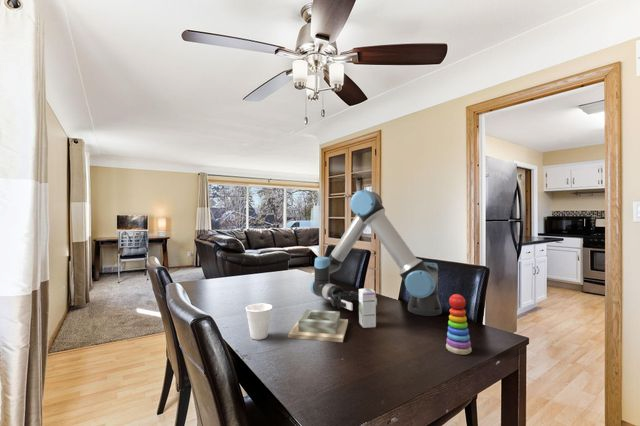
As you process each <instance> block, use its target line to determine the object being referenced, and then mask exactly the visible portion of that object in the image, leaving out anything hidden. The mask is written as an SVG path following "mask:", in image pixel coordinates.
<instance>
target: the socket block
mask: <svg viewBox="0 0 640 426" xmlns="http://www.w3.org/2000/svg"><path fill="white" fill-rule="evenodd" d="M348 324H349V319H347V318H341V311H335V310H319V309H306V310H305V311H304V313H303V314H302V315H301V316H300V318H299V319H298V320H297V322H296V323H295V324H294V326H293V327H292V328H291V330H290V331H289V333H288V335H287V337H288V339H295V340H296V339H297V340H309V341H310V340H311V341H320V342H321V341H322V342H333V343H334V342H335V343H343V342H344V339H345V335H346V333H347V332H346V331H347V329H348Z"/></svg>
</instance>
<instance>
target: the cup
mask: <svg viewBox="0 0 640 426" xmlns="http://www.w3.org/2000/svg"><path fill="white" fill-rule="evenodd" d="M245 310H246V317H247V323H248V330H249V336H250V338H251V339H252V340H255V341H258V340H259V341H260V340H264V339H267V337H268V335H269V334H268V333H269V327H270V322H271V316H272V310H273V305H272V304H268V303H253V304H249V305H247V306H245Z"/></svg>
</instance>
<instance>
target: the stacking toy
mask: <svg viewBox="0 0 640 426" xmlns="http://www.w3.org/2000/svg"><path fill="white" fill-rule="evenodd" d="M448 302H449V305H450V307H451V308H449V313H450V314H449V315H448V319H449V320H448V322H447V324H448V326H447V333H446V336H447V337H446V344H445V348H446V349H447V350H448V351H449V352H450V353H453V354H456V355H470V353H471V352H472V350H473V349H472V346H471V345H472V342H471V340H470V339H471V336H470V334H469V332H470V330H469V328H468V326H469V325H468V322H467V320H468V319H467V316H466V313H467V312H466V309H464V308H465V307H466V299H465V298H464V296H462V295H461V294H459V293H455V294H452V295H451V296H450V297H449V300H448Z"/></svg>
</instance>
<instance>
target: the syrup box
mask: <svg viewBox="0 0 640 426" xmlns="http://www.w3.org/2000/svg"><path fill="white" fill-rule="evenodd" d="M358 292H359V300H358V323H359V325H360V326H361V327H362V328H365V329H366V328H367V329H368V328H376V326H377V316H376V315H377V310H376V308H377V305H376V298H377V297H376V291H375V290H373V289H372V288H370V287H369V288H365V287H364V288H358Z"/></svg>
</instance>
